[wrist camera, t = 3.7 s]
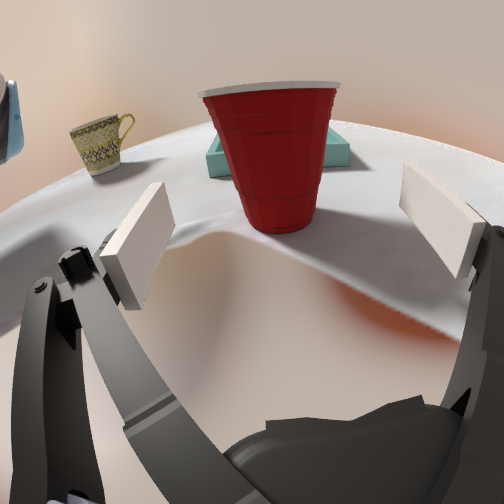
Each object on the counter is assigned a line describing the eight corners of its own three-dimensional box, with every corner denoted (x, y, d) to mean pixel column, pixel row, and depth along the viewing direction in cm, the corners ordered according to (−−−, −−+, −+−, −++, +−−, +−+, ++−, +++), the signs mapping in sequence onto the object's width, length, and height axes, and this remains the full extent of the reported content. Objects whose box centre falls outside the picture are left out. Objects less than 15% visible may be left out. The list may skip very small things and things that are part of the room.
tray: (209, 177, 36) (205, 155, 35) (222, 143, 51) (220, 127, 49) (349, 165, 35) (349, 143, 34) (320, 134, 50) (319, 119, 48)
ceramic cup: (79, 184, 45) (64, 134, 40) (85, 171, 53) (73, 128, 47) (145, 161, 49) (133, 110, 43) (141, 151, 57) (131, 108, 51)
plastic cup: (337, 191, 29) (334, 75, 22) (346, 252, 21) (349, 80, 14) (235, 192, 32) (219, 83, 25) (204, 250, 23) (172, 95, 16)
